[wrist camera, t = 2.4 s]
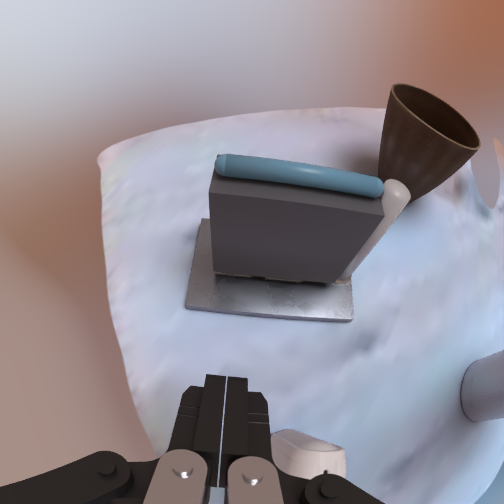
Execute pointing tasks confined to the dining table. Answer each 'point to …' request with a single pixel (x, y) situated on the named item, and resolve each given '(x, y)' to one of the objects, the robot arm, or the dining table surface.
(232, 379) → the robot arm
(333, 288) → the panel
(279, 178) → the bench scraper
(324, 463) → the photo printer
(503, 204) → the dining table surface
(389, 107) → the plant pot
